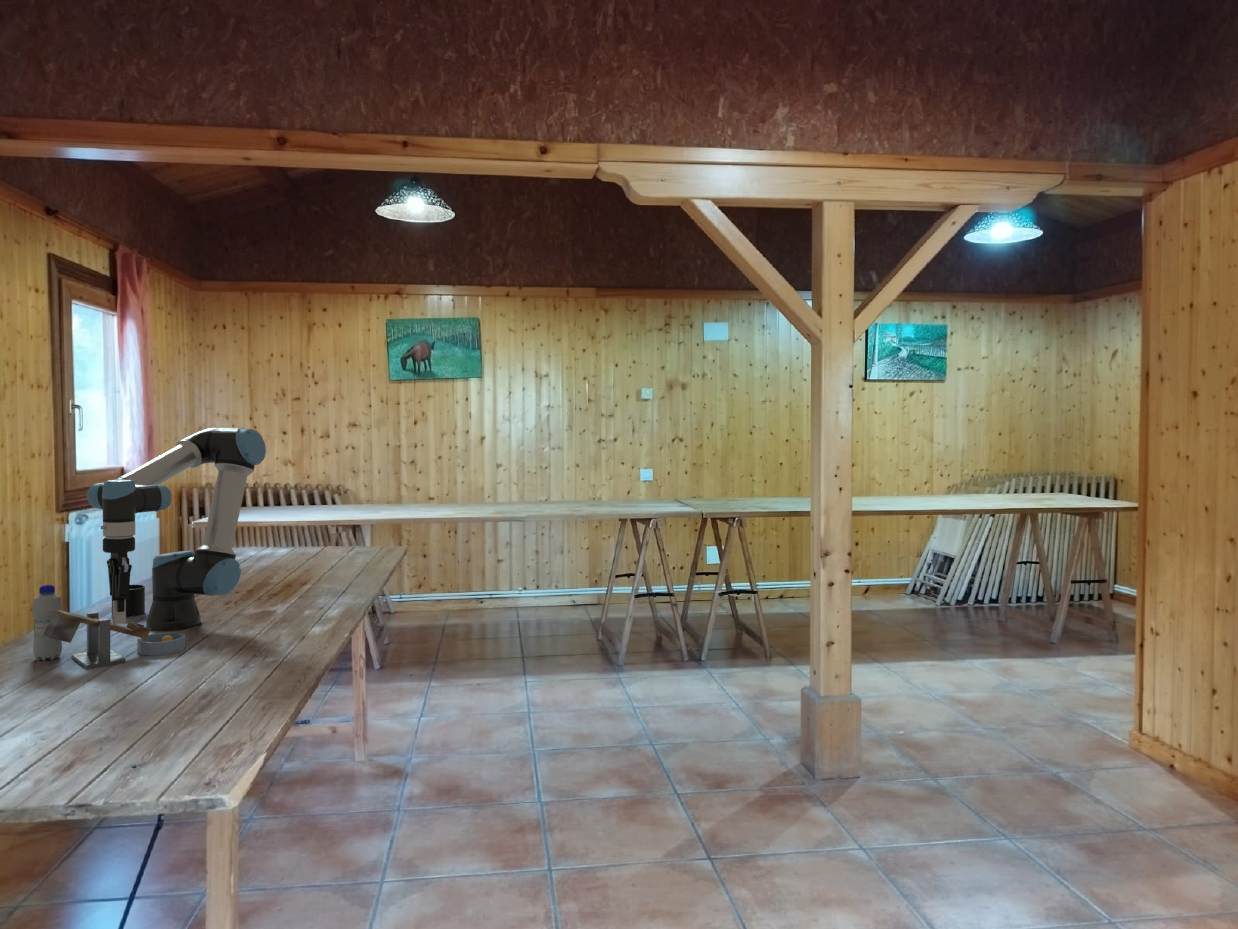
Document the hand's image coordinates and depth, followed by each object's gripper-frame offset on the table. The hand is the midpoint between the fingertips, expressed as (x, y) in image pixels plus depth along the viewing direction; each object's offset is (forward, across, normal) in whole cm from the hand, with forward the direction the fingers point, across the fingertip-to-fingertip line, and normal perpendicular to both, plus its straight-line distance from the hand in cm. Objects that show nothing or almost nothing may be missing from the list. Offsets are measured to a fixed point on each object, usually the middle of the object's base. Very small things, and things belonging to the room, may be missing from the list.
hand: (119, 623), depth 221 cm
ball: (+7, 0, +12) cm, 14 cm away
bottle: (+10, -11, -14) cm, 20 cm away
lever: (+5, 0, -7) cm, 8 cm away
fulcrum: (+9, 0, -5) cm, 11 cm away
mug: (+9, -54, +18) cm, 58 cm away
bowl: (+9, 0, +11) cm, 14 cm away
